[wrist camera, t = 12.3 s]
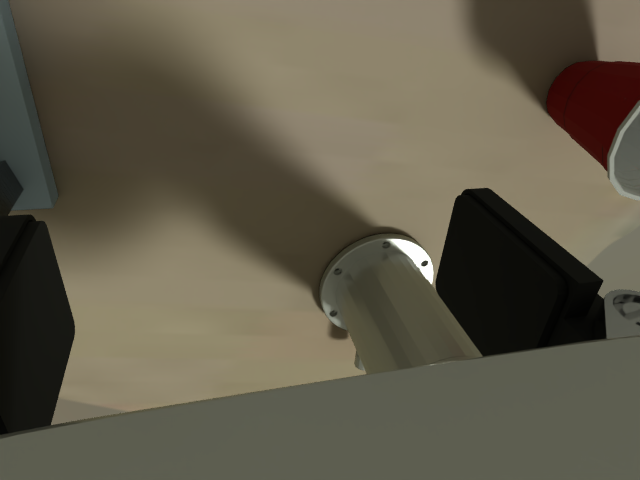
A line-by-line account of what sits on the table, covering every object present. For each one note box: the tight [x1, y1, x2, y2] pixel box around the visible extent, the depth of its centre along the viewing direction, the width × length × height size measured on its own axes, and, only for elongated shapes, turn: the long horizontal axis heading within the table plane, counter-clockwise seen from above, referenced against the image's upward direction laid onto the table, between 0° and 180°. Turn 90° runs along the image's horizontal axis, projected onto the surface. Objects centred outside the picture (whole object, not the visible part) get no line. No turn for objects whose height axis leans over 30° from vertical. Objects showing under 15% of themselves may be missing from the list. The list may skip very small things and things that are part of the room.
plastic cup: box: [546, 61, 640, 200], centre depth 39 cm, size 11×11×12 cm
